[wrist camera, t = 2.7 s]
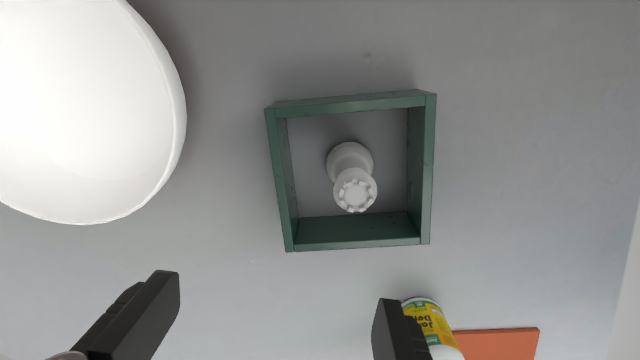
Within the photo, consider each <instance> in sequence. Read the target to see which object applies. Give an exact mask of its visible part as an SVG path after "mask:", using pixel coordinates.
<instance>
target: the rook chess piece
mask: <svg viewBox="0 0 640 360" xmlns="http://www.w3.org/2000/svg"><path fill="white" fill-rule="evenodd" d="M326 169H327V174H328V176H329V178H330V180H331V181H332V182H333V183H334V184H335V185H334V188H333V196H334V199H335V201H336V203H337V204H338V205H339V206H340V207H341V208H343V209H345V210H347V211H348V212H351V213H353V212H356V211H360V213H361V212H363V211H366V209H367V208H368V207H369V206H370V205H372V204H373V203H374V201H375V198H376V196H377V185H376V183H375V181H374V179H373V178H372V177H371V175H372V173H373V158H372V156H371V154H370V152H369V150H367V149H366V148H365V147H364V146H363V145H361V144H358V143H355V142H344V143H342V144H340V145H337V146H335V147H334V148H333V150H332V151H331V152H330V153H329V155H328V158H327V160H326Z"/></svg>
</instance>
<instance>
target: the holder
mask: <svg viewBox="0 0 640 360" xmlns="http://www.w3.org/2000/svg"><path fill="white" fill-rule="evenodd" d="M436 98H437V94H435V93H431V92H427V91H422V90H418V89H414V90H403V91H391V92H380V93H369V94H357V95H346V96H335V97H324V98H312V99H301V100H290V101H279V102H275V103H273V104H272V105H270V106H268V107H267V108H265V109H264V112H265V119H266V126H267V132H268V139H269V145H270V152H271V159H272V165H273V172H274V179H275V185H276V192H277V198H278V205H279V212H280V218H281V225H282V231H283V238H284V245H285V251H286V252H294V251H295V252H303V251H320V250H337V249H354V248H371V247H389V246H406V245H425V244H430V223H431V202H432V181H433V160H434V140H435V119H436ZM407 107H408V146H407V209H406V211H402V212H387V213H371V214H356V215H341V216H325V217H310V218H299V217H298V209H297V201H296V193H295V185H294V177H293V170H292V162H291V154H290V146H289V138H288V130H287V122H286V118H290V117H301V116H313V115H325V114H337V113H348V112H360V111H372V110H384V109H395V108H407Z"/></svg>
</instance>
